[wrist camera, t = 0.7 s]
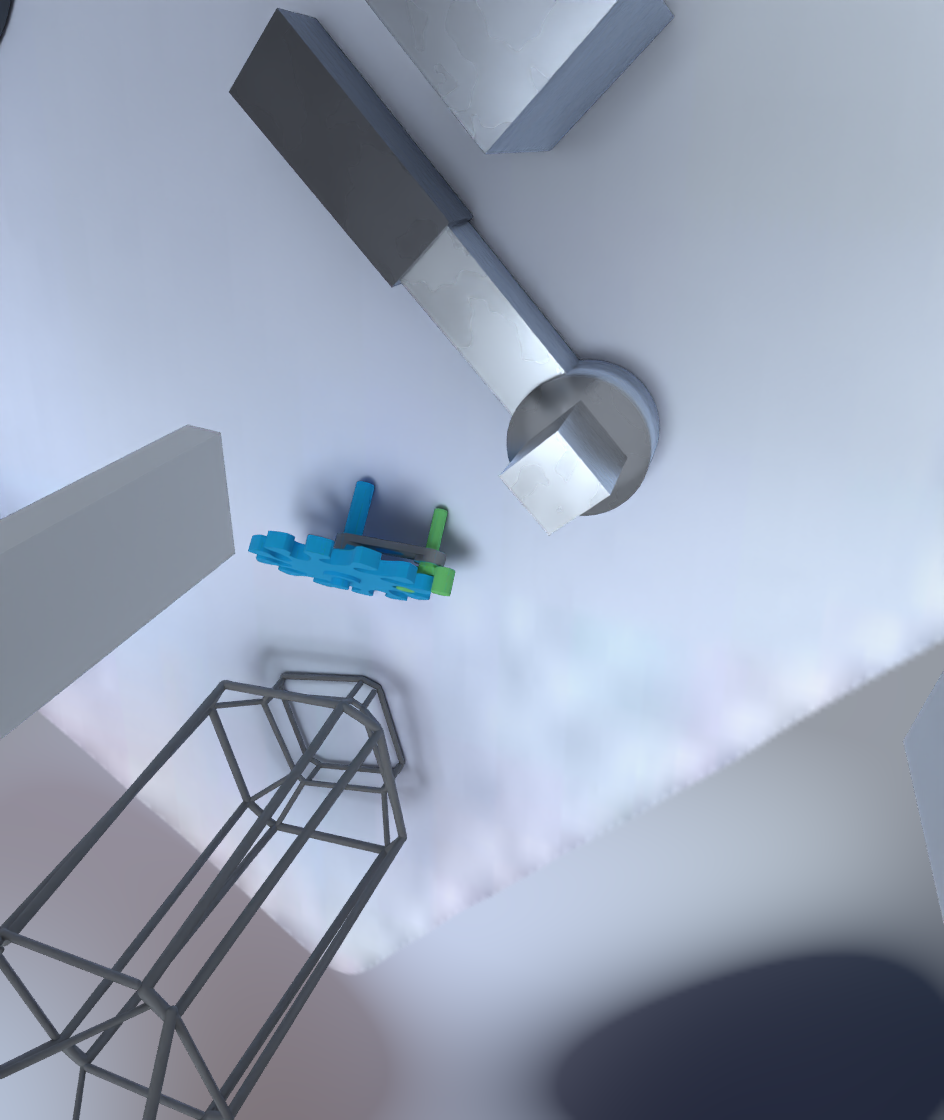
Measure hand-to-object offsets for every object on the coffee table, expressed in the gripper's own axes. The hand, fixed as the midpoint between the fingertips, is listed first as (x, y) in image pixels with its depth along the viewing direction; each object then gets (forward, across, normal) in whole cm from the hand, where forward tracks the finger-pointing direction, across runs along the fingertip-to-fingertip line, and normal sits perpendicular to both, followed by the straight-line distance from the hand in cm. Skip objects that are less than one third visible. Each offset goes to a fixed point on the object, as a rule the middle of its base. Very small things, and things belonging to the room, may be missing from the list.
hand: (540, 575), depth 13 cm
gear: (+22, -13, -15) cm, 30 cm away
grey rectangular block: (+22, -6, +10) cm, 25 cm away
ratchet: (+22, -9, 0) cm, 24 cm away
